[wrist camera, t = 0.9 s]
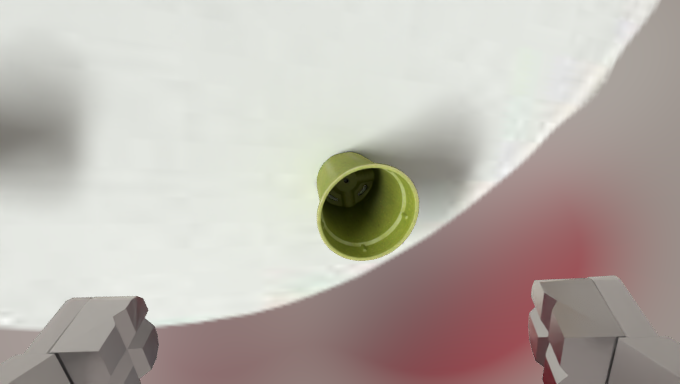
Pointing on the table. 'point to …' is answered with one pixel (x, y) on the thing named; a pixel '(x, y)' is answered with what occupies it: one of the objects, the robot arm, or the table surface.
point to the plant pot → (364, 207)
